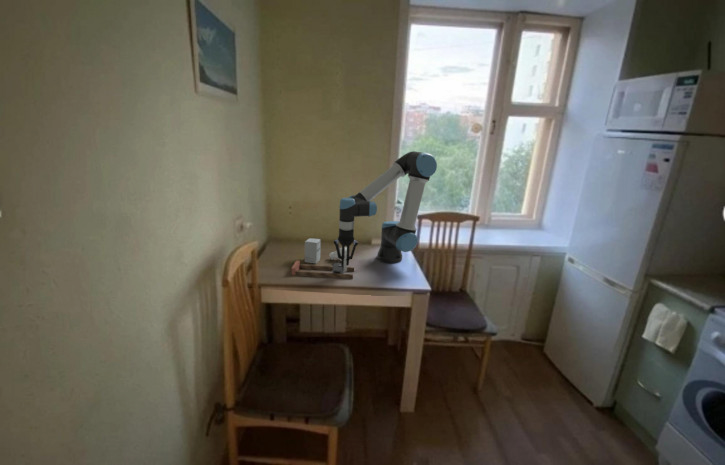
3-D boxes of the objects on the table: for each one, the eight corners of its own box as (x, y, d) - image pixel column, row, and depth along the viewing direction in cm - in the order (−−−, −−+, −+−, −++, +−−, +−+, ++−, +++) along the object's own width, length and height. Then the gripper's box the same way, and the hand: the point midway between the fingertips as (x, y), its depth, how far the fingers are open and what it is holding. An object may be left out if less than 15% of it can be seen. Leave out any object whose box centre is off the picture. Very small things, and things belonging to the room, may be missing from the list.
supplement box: (316, 263, 193) (316, 242, 189) (304, 262, 194) (304, 241, 191) (320, 259, 200) (320, 239, 196) (308, 257, 201) (308, 237, 197)
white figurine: (347, 249, 193) (327, 248, 195) (348, 263, 195) (328, 262, 198) (349, 245, 199) (330, 245, 201) (350, 259, 201) (331, 258, 204)
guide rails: (354, 270, 186) (354, 267, 185) (352, 278, 176) (352, 275, 175) (299, 267, 187) (299, 264, 186) (295, 275, 177) (295, 271, 176)
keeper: (344, 271, 184) (344, 263, 182) (343, 276, 178) (343, 267, 177) (333, 271, 184) (333, 262, 183) (331, 275, 178) (331, 266, 177)
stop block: (299, 267, 187) (299, 260, 186) (295, 275, 177) (295, 268, 176) (296, 267, 187) (296, 260, 186) (291, 275, 177) (291, 267, 176)
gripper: (359, 227, 177) (357, 268, 184) (334, 225, 177) (333, 267, 184) (358, 231, 170) (356, 274, 177) (332, 229, 170) (331, 272, 177)
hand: (345, 270), depth 180 cm, fingers closed
